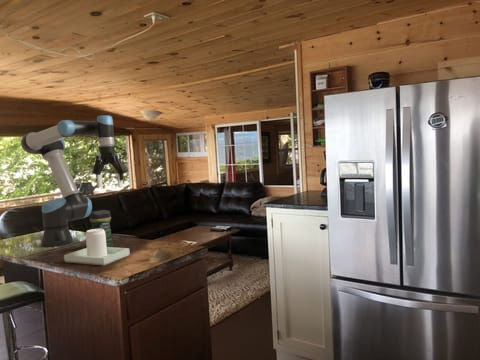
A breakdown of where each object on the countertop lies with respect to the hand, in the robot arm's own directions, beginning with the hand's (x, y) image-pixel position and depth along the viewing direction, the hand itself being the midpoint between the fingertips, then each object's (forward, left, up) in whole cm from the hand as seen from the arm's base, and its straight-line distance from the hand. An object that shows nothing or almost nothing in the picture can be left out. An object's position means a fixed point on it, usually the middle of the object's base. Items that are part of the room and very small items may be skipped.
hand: (110, 187), depth 202 cm
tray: (+16, -29, -29) cm, 44 cm away
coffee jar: (+4, -13, -29) cm, 32 cm away
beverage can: (+16, -29, -28) cm, 44 cm away
